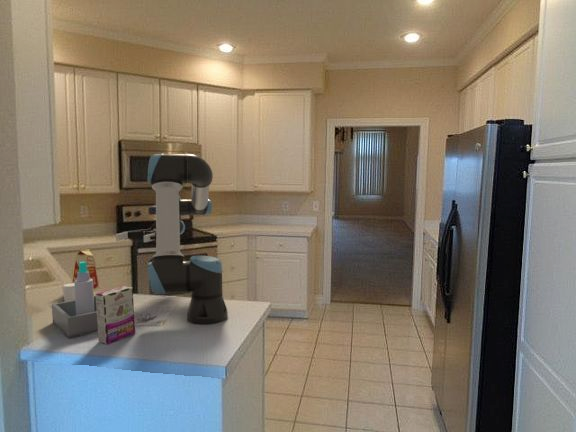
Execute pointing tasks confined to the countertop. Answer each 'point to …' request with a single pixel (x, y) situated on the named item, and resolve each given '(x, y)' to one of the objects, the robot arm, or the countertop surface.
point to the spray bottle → (84, 291)
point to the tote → (74, 319)
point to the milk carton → (91, 266)
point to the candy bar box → (115, 314)
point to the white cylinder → (68, 291)
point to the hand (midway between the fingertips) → (130, 238)
